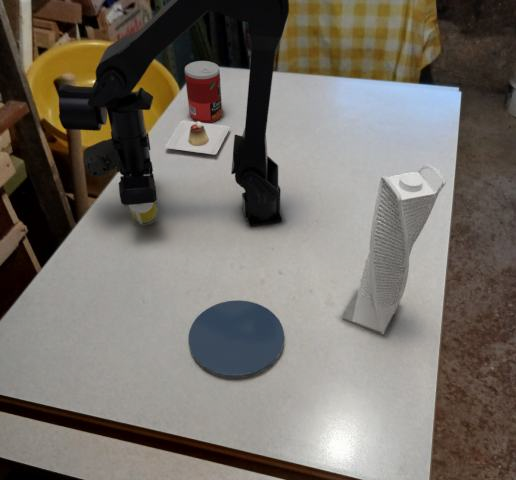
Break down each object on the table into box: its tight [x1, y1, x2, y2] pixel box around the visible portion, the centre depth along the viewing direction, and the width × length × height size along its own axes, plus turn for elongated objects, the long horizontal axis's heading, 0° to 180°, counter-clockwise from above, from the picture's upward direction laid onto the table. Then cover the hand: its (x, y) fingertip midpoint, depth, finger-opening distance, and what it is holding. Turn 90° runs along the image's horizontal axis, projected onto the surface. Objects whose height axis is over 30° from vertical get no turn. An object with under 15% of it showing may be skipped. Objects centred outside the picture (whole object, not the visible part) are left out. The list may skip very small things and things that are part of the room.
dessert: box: [164, 119, 231, 156], centre depth 114 cm, size 12×12×5 cm
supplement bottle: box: [127, 201, 158, 226], centre depth 94 cm, size 5×5×8 cm
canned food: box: [184, 60, 223, 124], centre depth 118 cm, size 8×8×11 cm
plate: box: [187, 299, 285, 379], centre depth 80 cm, size 15×15×1 cm
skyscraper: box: [342, 163, 447, 336], centre depth 72 cm, size 8×8×28 cm
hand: (142, 203), depth 99 cm, fingers closed
